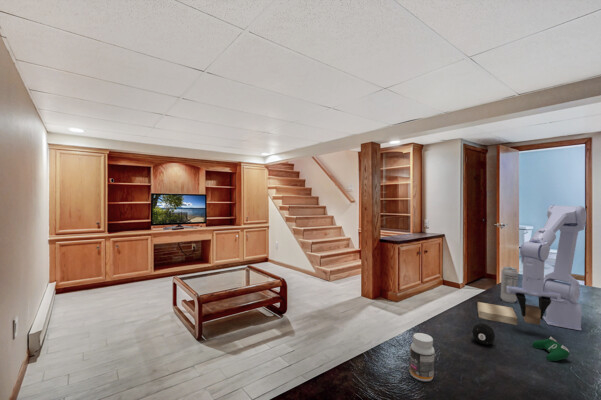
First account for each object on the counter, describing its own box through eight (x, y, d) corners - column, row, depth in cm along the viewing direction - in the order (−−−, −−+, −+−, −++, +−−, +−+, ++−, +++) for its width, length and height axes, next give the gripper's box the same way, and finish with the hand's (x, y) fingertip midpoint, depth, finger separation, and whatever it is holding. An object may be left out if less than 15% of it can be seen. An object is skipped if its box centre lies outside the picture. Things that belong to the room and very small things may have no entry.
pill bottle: (405, 369, 78) (407, 331, 78) (426, 368, 79) (427, 331, 79) (415, 382, 73) (417, 342, 73) (438, 382, 73) (439, 342, 73)
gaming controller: (557, 369, 84) (576, 356, 83) (547, 358, 84) (565, 345, 83) (538, 352, 93) (555, 341, 92) (529, 343, 93) (545, 331, 92)
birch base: (512, 315, 119) (512, 307, 119) (516, 326, 109) (517, 318, 109) (477, 308, 125) (477, 301, 125) (478, 318, 114) (479, 311, 114)
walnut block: (537, 320, 103) (538, 306, 103) (540, 324, 99) (540, 310, 99) (523, 318, 105) (523, 303, 105) (525, 322, 101) (525, 307, 101)
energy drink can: (515, 300, 136) (517, 267, 136) (517, 304, 131) (518, 270, 130) (500, 297, 139) (501, 265, 139) (500, 301, 134) (502, 268, 133)
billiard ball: (470, 343, 94) (471, 324, 94) (473, 336, 98) (474, 318, 98) (492, 350, 90) (493, 330, 90) (495, 342, 94) (496, 324, 94)
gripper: (509, 276, 102) (507, 316, 102) (564, 283, 95) (562, 326, 95) (506, 272, 108) (504, 309, 108) (557, 278, 101) (556, 318, 101)
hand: (531, 316), depth 102 cm, fingers closed on walnut block, 4 cm apart
